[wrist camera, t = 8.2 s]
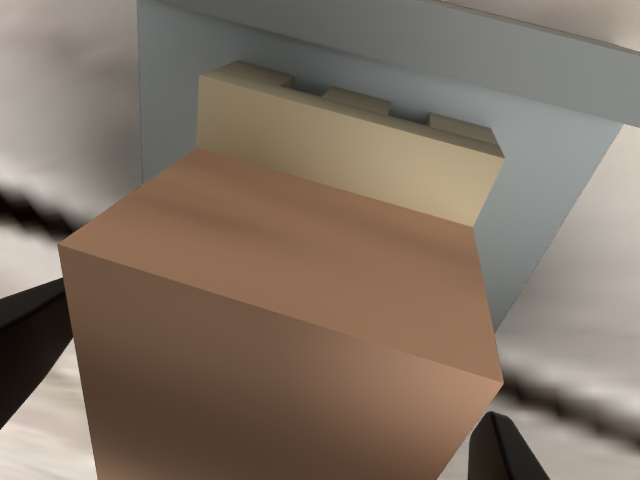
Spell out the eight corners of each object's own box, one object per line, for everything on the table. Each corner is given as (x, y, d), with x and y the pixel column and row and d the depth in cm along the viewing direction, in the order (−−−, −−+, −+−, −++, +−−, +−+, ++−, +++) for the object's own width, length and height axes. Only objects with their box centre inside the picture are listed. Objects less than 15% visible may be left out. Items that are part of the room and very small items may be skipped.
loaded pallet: (370, 400, 15) (343, 612, 10) (211, 349, 15) (106, 527, 10) (490, 128, 9) (567, 291, 4) (237, 60, 10) (38, 136, 5)
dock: (438, 366, 17) (441, 474, 13) (180, 286, 17) (115, 366, 14) (613, 44, 10) (722, 77, 6) (190, -62, 11) (70, -87, 7)
